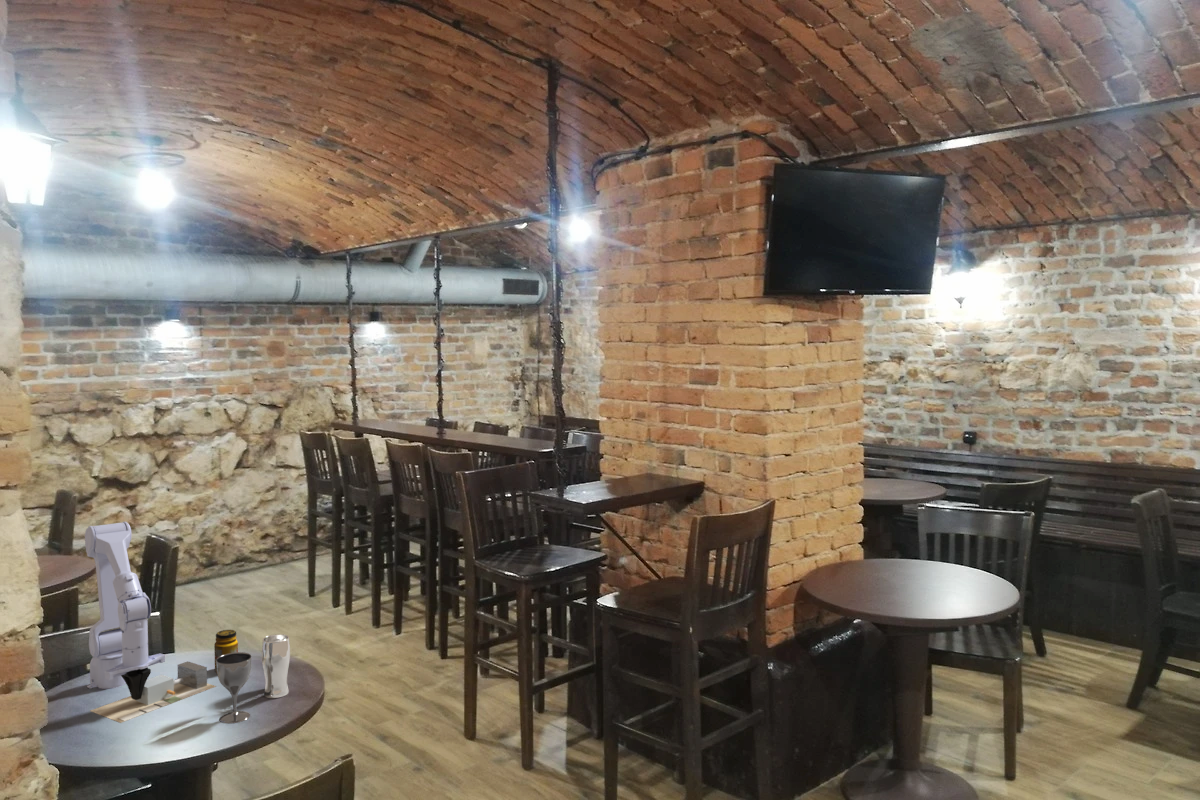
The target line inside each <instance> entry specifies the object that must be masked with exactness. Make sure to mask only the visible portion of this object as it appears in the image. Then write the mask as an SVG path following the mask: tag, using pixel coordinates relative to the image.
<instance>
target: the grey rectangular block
mask: <svg viewBox="0 0 1200 800" xmlns="http://www.w3.org/2000/svg"><path fill="white" fill-rule="evenodd" d="M207 671H208V668H207V666H204V665H200V664H197V663H194V662H191V661H183V662H182V663H179V664H177V679H179V678H183V682H182V683H179V684H182V685H185V686H188V687H191V688H194V689H198V688H202V687H205V686H207V683H208V672H207Z"/></svg>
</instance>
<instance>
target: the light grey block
mask: <svg viewBox="0 0 1200 800" xmlns="http://www.w3.org/2000/svg"><path fill="white" fill-rule="evenodd" d="M182 682H183V678H179V679H178V678H176V679H174V677H169V676H168V675H164V674H159V675H157V676H154V677H150V678H147V680H146V683H145V685H144V688H143V692H142V696H141V699H138V700H136V701H138V702H141V703H144V704H146V705H150V704H152V703H155V702H158V701H160V700H163V699H166V698H168V697H171V696H174V694H175V692H174V685H176V684H179V683H182Z"/></svg>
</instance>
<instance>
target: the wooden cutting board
mask: <svg viewBox="0 0 1200 800" xmlns="http://www.w3.org/2000/svg"><path fill="white" fill-rule="evenodd" d="M216 687H217V685H213V684H210V683H208V682H207V686H205V687H202V688H198V689H194V688H191V687H188V686H185V685H182V684H176V685H174V692H175V694H174V696H171V697H168V698H166V699H163V700H160V701H158V702H155V703H152V704H150V705H146V704H144V703H141V702H138V701H136V700H134V699H132V698H131V695H130V696H127V697H124V698H120V699H118V700H115V701H113V702H110V703H108V704H105V705H102V706H100V707H96V708H94V709H91V710H89V712H91V713H95V714H96V715H99V716H102V717H104V718H106V719H110V720H112V721H114V722H117V723H119V724H123V723H124V722H127V721H130V720H132V719H135V718H137V717H140V716H144V715H146V714H148V713H151V712H153V711H156V710H158V709H159V710H160V709H161V708H163V707H164V708H165V707H166V706H169V705H172V704H174V703H176V702H180V701H183V700H186V699H188V698H191V697H192V696H195V695H197V694H200V693H202V692H205V691H208V690H211V689H213V688H216Z"/></svg>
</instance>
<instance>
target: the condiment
mask: <svg viewBox="0 0 1200 800" xmlns="http://www.w3.org/2000/svg"><path fill="white" fill-rule="evenodd" d="M213 649H214V673H215V674H217V666H216V660H217V658H218V657H220V656H222V655H225V654H229V653H235V652H239V643H238V639H237V631H236V630H234V629H223V630H220V631H218V632H216V634H215V642H214V648H213Z"/></svg>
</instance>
